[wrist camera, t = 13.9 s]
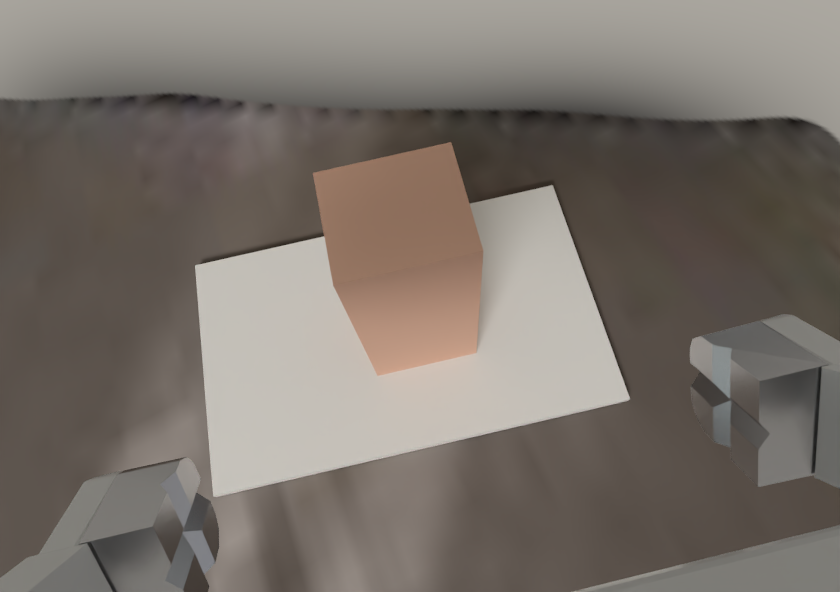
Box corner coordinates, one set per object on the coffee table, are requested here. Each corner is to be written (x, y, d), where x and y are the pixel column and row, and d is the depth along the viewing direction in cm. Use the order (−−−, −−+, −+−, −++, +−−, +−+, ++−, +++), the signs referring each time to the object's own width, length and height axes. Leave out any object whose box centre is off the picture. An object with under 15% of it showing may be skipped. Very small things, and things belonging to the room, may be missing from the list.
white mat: (216, 497, 26) (213, 496, 25) (198, 268, 30) (195, 265, 30) (627, 400, 26) (629, 398, 26) (551, 189, 30) (552, 185, 30)
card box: (377, 375, 27) (333, 285, 18) (361, 295, 28) (312, 172, 19) (476, 353, 27) (483, 250, 18) (454, 273, 29) (451, 141, 19)
